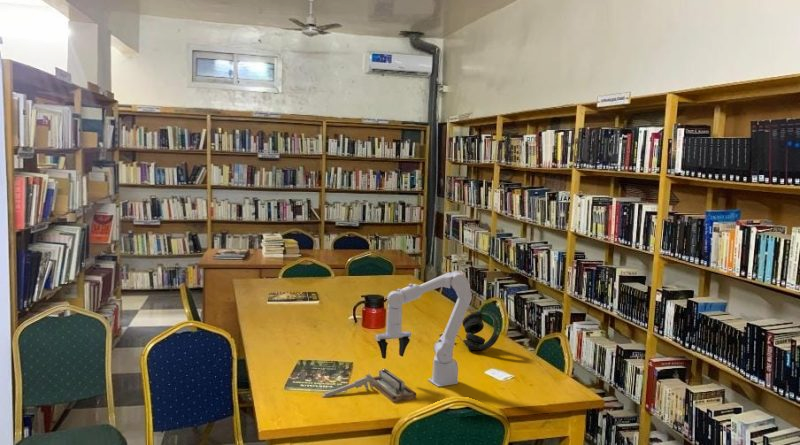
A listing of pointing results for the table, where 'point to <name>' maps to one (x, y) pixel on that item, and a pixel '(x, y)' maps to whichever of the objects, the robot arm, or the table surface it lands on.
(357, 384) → the caliper
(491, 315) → the headset
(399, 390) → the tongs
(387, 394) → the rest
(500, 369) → the table surface
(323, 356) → the table surface
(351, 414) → the table surface
